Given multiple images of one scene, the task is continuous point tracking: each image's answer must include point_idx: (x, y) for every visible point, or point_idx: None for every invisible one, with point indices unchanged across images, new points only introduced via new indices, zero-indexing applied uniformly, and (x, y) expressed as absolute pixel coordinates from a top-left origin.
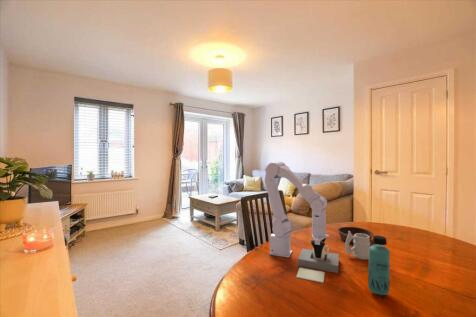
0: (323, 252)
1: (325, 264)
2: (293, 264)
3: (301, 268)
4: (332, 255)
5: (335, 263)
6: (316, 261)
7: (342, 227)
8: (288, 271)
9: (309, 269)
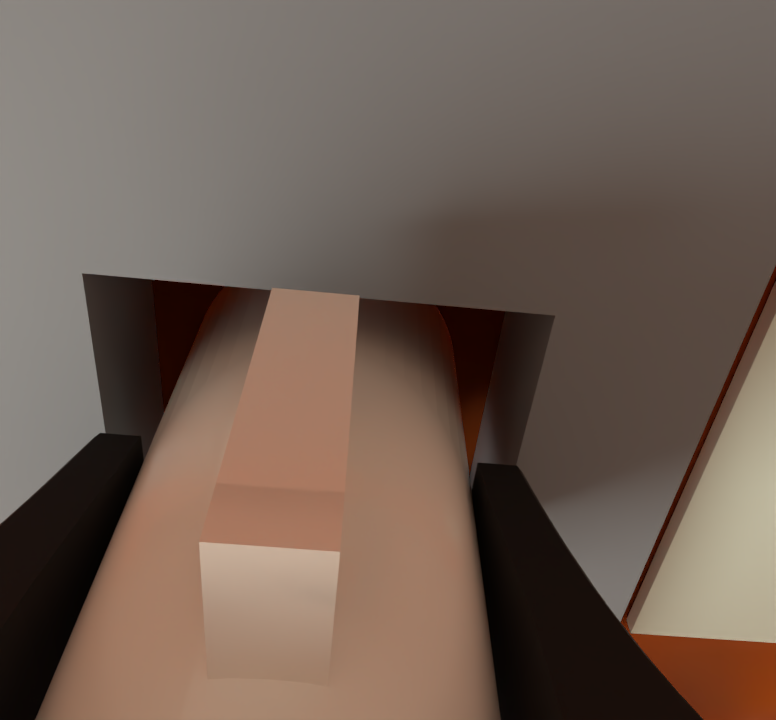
0: (423, 505)
1: (732, 325)
2: None
3: (666, 613)
4: (48, 101)
5: (713, 41)
6: (627, 514)
7: None
8: (735, 711)
9: (688, 518)
